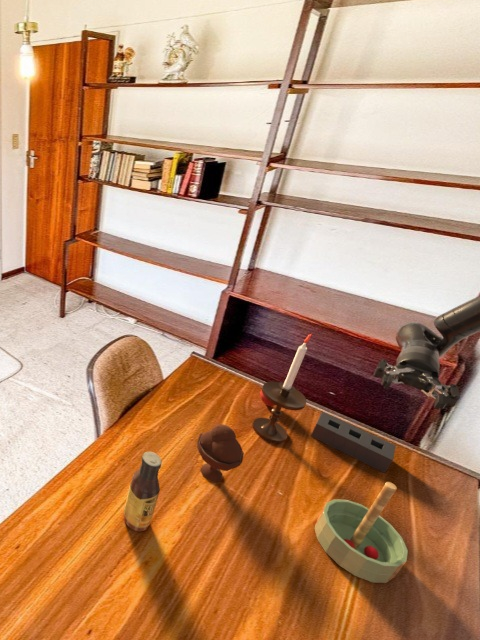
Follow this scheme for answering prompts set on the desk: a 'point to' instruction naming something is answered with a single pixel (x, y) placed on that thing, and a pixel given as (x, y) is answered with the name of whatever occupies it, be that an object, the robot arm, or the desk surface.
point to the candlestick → (281, 401)
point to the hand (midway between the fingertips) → (412, 395)
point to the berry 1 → (349, 543)
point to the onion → (265, 400)
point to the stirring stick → (373, 513)
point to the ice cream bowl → (219, 452)
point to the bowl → (342, 523)
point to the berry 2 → (371, 552)
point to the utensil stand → (354, 442)
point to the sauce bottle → (143, 493)
